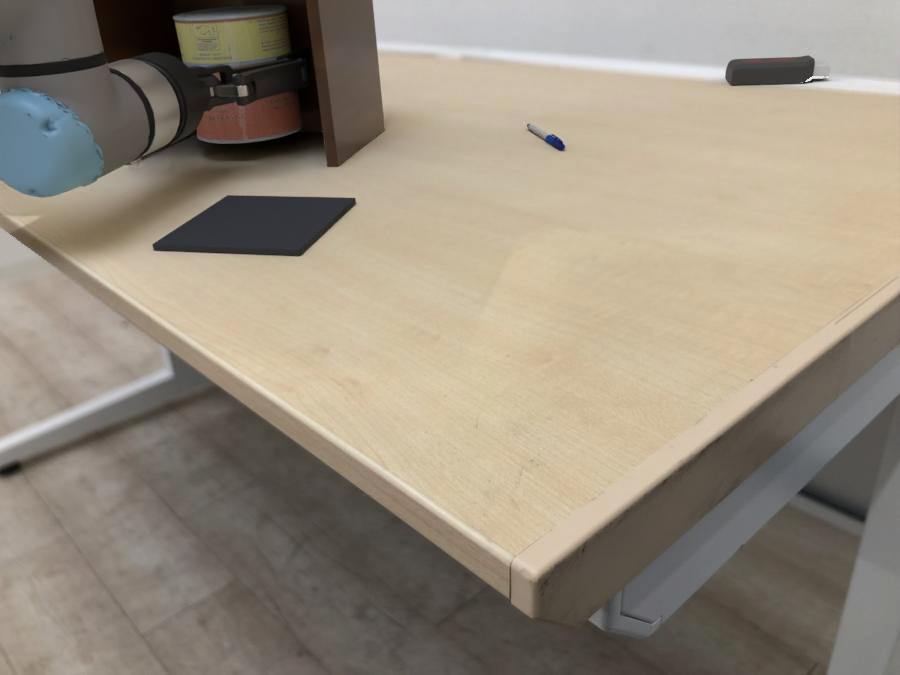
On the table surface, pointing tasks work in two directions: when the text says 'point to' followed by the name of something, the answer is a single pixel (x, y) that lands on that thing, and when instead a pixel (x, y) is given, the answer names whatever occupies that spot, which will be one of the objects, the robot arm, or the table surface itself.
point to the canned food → (240, 44)
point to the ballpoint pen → (547, 137)
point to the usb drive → (775, 70)
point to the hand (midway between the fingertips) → (256, 61)
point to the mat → (257, 225)
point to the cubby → (310, 25)
